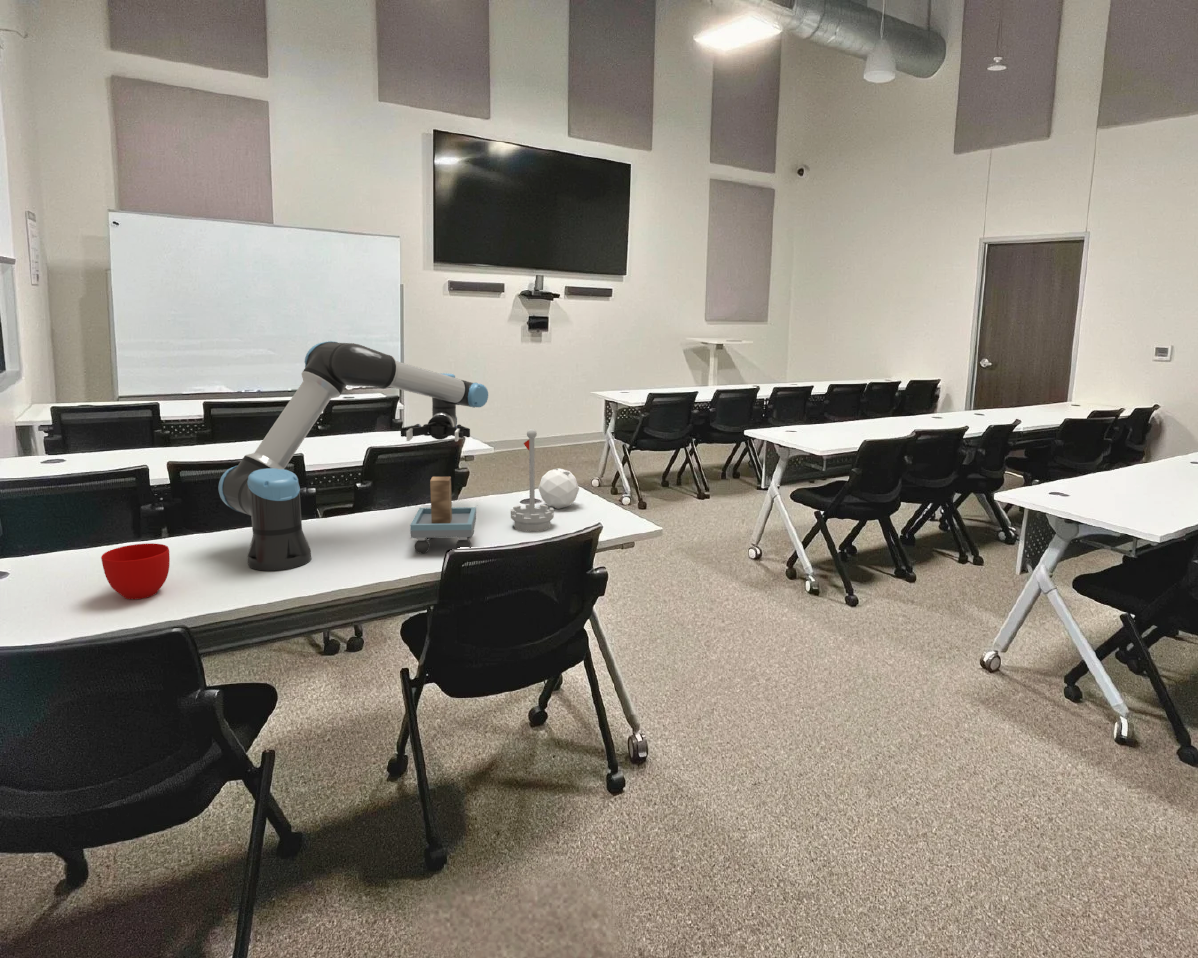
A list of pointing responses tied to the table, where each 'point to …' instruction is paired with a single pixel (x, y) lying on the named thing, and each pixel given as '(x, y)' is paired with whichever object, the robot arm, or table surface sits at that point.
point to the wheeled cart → (443, 527)
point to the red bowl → (137, 569)
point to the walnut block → (441, 500)
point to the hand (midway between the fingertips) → (432, 436)
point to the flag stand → (532, 500)
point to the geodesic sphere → (558, 488)
